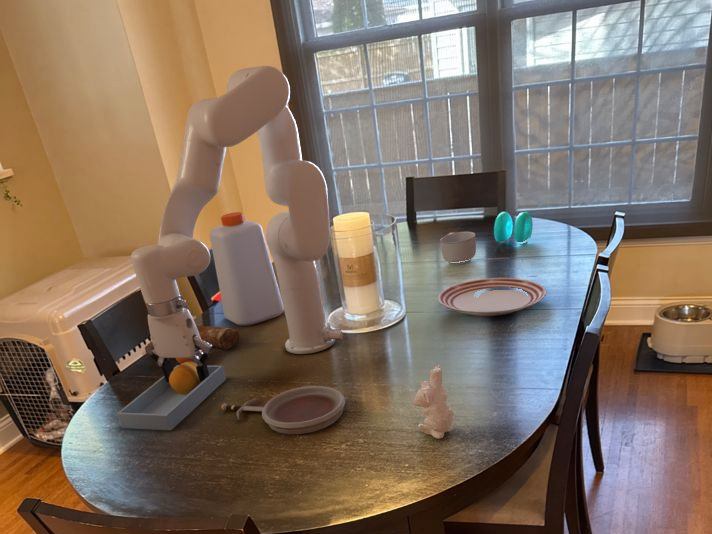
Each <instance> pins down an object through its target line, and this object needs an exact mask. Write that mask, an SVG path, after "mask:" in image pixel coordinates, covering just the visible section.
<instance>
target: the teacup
mask: <svg viewBox="0 0 712 534" xmlns="http://www.w3.org/2000/svg"><path fill="white" fill-rule="evenodd" d="M439 242H440V248H441V249H440V250H441V254H442V258H443V260H444V261H445V262H447V261H448V262H447V263H448V264H450V265H454V266H458V265H459V266H460V265H464V264H467V263H470V262H471V260H472V259H473V258H474V257H475V256H476V251H477V242H476V233H475V232H473V231H458V232H453V231H451V232H449V233H448V234H446V235H444V236H442V237H441V238H440V239H439ZM471 258H472V259H471ZM469 259H471V260H469ZM465 260H469V261H465ZM459 261H465V262H460V263H450V262H459Z"/></svg>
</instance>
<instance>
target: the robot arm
mask: <svg viewBox="0 0 712 534" xmlns="http://www.w3.org/2000/svg"><path fill="white" fill-rule="evenodd" d="M290 89H291V87H290V84H289V81H288V78H287V77H286V75H285V74H284V72H282V71H281V70H280V69H278V68H277V67H274V66H271V65H261V66H254V67H253V66H251V67H246V68H245V67H244V68H241V69H238V70H236V71H235V72H233V73H231V75H230V76H229V78H228V80H227V83H226V92H225V93H223V94H222V95H220V96H218V97H212V98H203V99H200V100H197V101H195V102H194V103H193V104H191V106H190V108H189V110H188V113H187V116H186V120H185V126H184V127H185V129H184V133H183V140H182V146H181V152H180V159H179V164H178V170H177V175H176V180H175V183H174V185H173V187H172V189H171V191H170V194H169V197H168V198H167V201H166V204H165V205H164V208H163V211H162V216H161V221H160V226H159V234H158V240H157V244H151V245H145V246H141V247H138V248H136V249H135V250H133V251H132V252H131V255H130V261H131V264H132V267H133V270H134V273H135V276H136V279H137V282H138V285H139V288H140V292H141V294H142V298H143V302H144V305H145V307H146V310H147V324H148V329H149V335H150V338H151V341H150V342H149V343H148V344H147V345H145V346H144V350H145V351H146V352H147V353H148V354H149V355H150V358H151V359H152V360H153V361H154V362H156V364H157V366H158V367H160V368H161V371H162V375H163V376H164V377H165V380H166V382H169V377H170V374H171V372H172V371H173V370H174V369H173V368H174V366H173V362H172V361H171V360H169V359H176V358H191V359H192V360H193V361H194V362H195V363H196V364H197V365H198V366H196V370H197V374H198V377H199V380H200V382H203V381H204V380H205V379H206V378H207V377H208V376H209V371H208V368H207V366H208V364H207V362H208V360H209V358H210V357H211V353H212V349H213V346H212V345H211V344H209V343H207V342H206V341H204V340H202V339H201V337H200V335H199V332H198V329H197V327H196V326H197V324H196V322H195V320H194V317H193V316H192V314H191V311H190V310H189V309H188V308H186V307H187V304H188V302H187V300H183V299H182V295H181V292H180V289H179V286H178V283H177V279H180V278H188V277H194V276H198V275H200V274H202V273H204V272H205V271H206V270H207V269H208V267H209V266H210V263H211V253H210V250H209V248H208V246H206V244H204V243H203V242H202V241H201V240H199V239H197V238H194V232H195V228H196V223H197V221H198V218H199V216H200V213H201V212H202V210H203V208H205V206H206V205H207V204H208V203H209V202H210V201H212V200H213V199H214V198H215V197H216V196H217V194H218V192H219V191H220V190H219V189H220V186H221V181H222V175H223V169H224V163H225V158H226V153H227V148H231V147H235V146H237V145H238V144H239V145H240V144H241V143H242V142H244V141H245V140H247V139H248V138H250V137H251V136H253V135H254V134H255V133H257V137H258V141H259V146H260V152H261V153H260V154H261V161H262V169H263V178H264V186H265V192H266V195H267V196H268V198H269V199H270V200H271V201H272V202H273V203H274V204H276V205H279V206H281V207H282V206H283V207H287V208H288V211H281V212H278V213H276V214H275V215H273V216H272V217H271V218H270V220H269V221H268V222H267V225H266V229H265V241H266V244H267V248H268V251H269V254H270V257H271V260H272V262H273V265H274V268H275V272H276V276H277V277H276V278H277V282H278V288H279V291H280V295H281V299H282V302H283V307H284V311H283V313H284V316H285V321H286V326H287V331H288V337H289V338H288V339H287V340H286V341H285V343H284V347H285V350H286V351H287V352H288V353H291V354H295V355H308V354H314V353H320V352H321V351H325V350H326V349H328V348H330V347H332V346H333V345H334V344H335V343H336V340H343V337H344V333H343V331H342V329H341V328H332V327H331V323H330V322H327V320H326V314H325V310H324V302H323V296H322V292H321V286H320V279H319V272H318V268H317V265H316V262H317V261H318V260H320V259H322V258H323V257H324V256H325V255H326V254H327V252H328V250H329V248H330V243H331V222H330V219H331V218H330V208H329V207H330V206H329V195H328V186H327V182H326V179H325V177H324V174H323V172H322V171H321V169H320V168H319V167H318V166H317V165H316V164H315V163H313V162H312V161H309V160H304V159H303V157H302V150H301V149H302V148H301V143H300V137H299V131H298V126H297V123H296V119H295V118H294V116H293V113H292V112H291V110H290V108H289V107H288V103H289V101H290V95H291V90H290ZM202 349H203V350H204V351H203V353H202V352H201V351H200V350H202ZM196 355H197V356H198V357H199V358H200V359H199V358H198V357H197V356H196Z"/></svg>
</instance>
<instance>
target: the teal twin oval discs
mask: <svg viewBox="0 0 712 534" xmlns="http://www.w3.org/2000/svg"><path fill="white" fill-rule="evenodd" d="M533 223H534V222H533V217H532V215H531V214H530V213H529V211H523V212H520V213H519V214H518V215H517V217H516V218H515V222H514V224H513V220H512V216H511V215H510V213H509V212H507V211H501V212H500V213H499V214H498V215H497V217H496V218H495V221H494V225H493V236H494V239H495V242H497V241H498V242H500V241H505V240H507V239H509V238H510V239H511V237H512V234H513V236H514V240H515V242H516V243H517V242H523V241H525V240H527V239H528V238H530V239H531V237H532V233H533V225H534V224H533ZM510 239H509V240H508V241H507V242H505V243H498V245H505V244H507V243H508V242H509V241H510ZM527 244H528V242H526V243H523V244H519V245H520V246H525V245H527Z"/></svg>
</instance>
